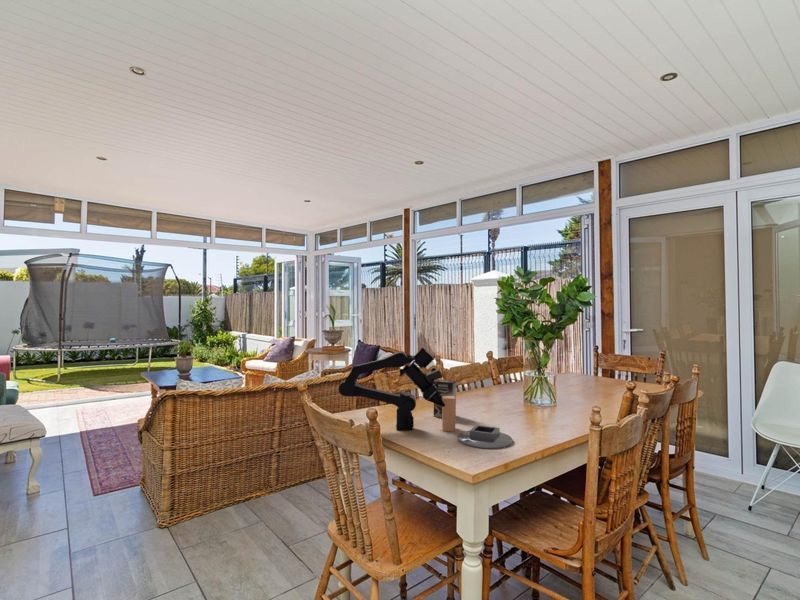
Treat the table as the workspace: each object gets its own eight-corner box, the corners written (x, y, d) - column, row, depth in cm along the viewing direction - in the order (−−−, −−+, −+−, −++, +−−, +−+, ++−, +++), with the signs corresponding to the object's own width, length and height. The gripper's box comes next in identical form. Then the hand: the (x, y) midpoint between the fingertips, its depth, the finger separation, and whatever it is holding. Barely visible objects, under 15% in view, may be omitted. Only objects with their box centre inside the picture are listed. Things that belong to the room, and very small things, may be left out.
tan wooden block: (442, 430, 173) (442, 398, 174) (442, 427, 178) (442, 395, 179) (455, 431, 173) (455, 398, 173) (454, 427, 178) (454, 396, 178)
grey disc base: (450, 443, 157) (450, 432, 157) (467, 429, 175) (467, 419, 175) (505, 452, 148) (505, 440, 148) (517, 436, 166) (517, 426, 166)
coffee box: (433, 416, 196) (433, 381, 196) (437, 413, 202) (437, 379, 202) (452, 418, 192) (452, 382, 192) (456, 415, 198) (456, 380, 198)
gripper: (431, 365, 167) (460, 394, 167) (430, 359, 186) (455, 385, 185) (411, 385, 167) (439, 414, 167) (411, 377, 186) (437, 403, 185)
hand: (443, 403), depth 176 cm, fingers open, 9 cm apart
